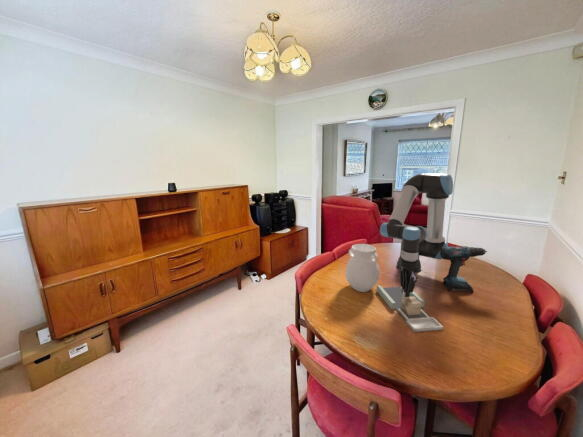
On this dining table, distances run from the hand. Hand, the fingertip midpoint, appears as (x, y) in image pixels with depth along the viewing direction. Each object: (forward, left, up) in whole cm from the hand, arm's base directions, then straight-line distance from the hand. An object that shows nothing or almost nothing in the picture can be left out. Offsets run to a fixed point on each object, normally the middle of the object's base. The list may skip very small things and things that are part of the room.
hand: (405, 302), depth 126 cm
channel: (-6, 0, -2) cm, 7 cm away
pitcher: (-20, -15, -2) cm, 25 cm away
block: (+6, 0, -1) cm, 6 cm away
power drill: (-13, +39, -2) cm, 42 cm away
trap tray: (+16, 0, -2) cm, 16 cm away
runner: (-3, 0, -2) cm, 3 cm away
